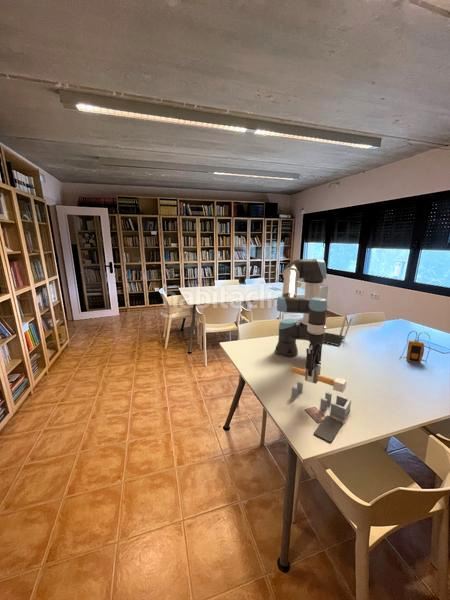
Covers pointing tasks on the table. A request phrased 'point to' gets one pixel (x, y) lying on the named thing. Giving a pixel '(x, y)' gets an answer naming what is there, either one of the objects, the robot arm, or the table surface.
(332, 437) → the smartphone
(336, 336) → the wireless router
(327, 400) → the clip
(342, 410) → the end holder
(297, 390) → the clip
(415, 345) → the multimeter
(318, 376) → the orange rod with blocks
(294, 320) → the robot arm
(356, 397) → the table surface
